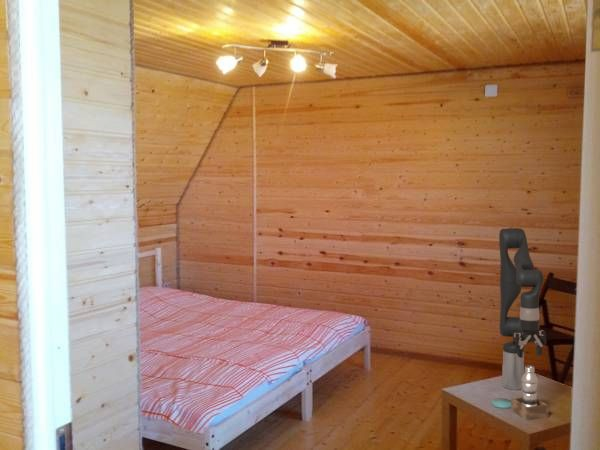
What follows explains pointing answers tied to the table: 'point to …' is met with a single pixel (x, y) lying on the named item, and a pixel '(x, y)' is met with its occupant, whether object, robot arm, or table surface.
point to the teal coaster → (501, 403)
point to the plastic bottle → (529, 387)
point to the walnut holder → (529, 409)
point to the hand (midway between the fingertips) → (529, 356)
